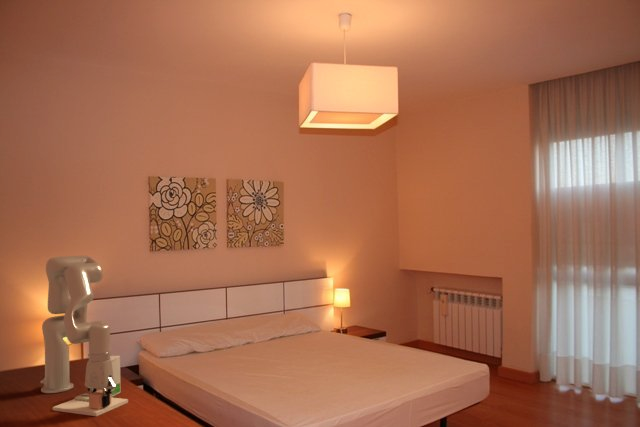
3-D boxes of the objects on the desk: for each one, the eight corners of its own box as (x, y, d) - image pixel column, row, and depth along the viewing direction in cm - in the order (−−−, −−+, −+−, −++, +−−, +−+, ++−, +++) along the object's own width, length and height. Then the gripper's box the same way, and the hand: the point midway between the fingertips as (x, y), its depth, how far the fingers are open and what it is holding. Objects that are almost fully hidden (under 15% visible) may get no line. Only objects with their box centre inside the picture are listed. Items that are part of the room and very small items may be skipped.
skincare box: (109, 398, 206) (108, 360, 207) (95, 398, 208) (94, 359, 208) (121, 392, 214) (120, 355, 215) (107, 391, 216) (107, 354, 216)
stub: (89, 407, 191) (88, 394, 191) (101, 402, 197) (101, 389, 197) (99, 408, 189) (99, 395, 189) (111, 403, 195) (111, 390, 195)
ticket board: (52, 410, 194) (52, 404, 194) (86, 397, 209) (86, 391, 209) (96, 416, 186) (96, 409, 186) (128, 402, 201) (128, 396, 201)
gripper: (75, 357, 193) (75, 406, 193) (109, 360, 187) (110, 410, 186) (90, 353, 200) (91, 400, 200) (124, 356, 194) (125, 404, 193)
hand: (100, 404), depth 193 cm, fingers closed on stub, 5 cm apart
